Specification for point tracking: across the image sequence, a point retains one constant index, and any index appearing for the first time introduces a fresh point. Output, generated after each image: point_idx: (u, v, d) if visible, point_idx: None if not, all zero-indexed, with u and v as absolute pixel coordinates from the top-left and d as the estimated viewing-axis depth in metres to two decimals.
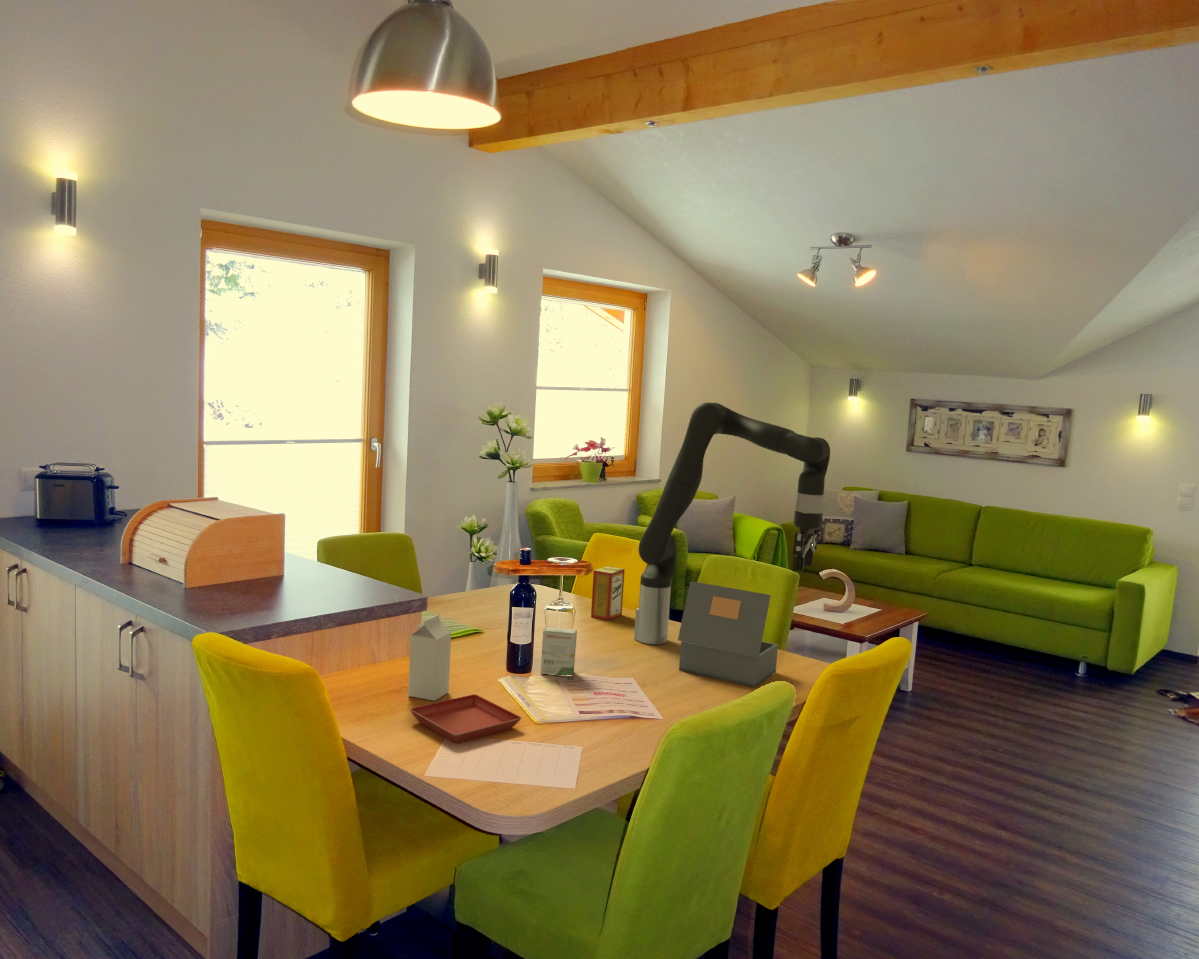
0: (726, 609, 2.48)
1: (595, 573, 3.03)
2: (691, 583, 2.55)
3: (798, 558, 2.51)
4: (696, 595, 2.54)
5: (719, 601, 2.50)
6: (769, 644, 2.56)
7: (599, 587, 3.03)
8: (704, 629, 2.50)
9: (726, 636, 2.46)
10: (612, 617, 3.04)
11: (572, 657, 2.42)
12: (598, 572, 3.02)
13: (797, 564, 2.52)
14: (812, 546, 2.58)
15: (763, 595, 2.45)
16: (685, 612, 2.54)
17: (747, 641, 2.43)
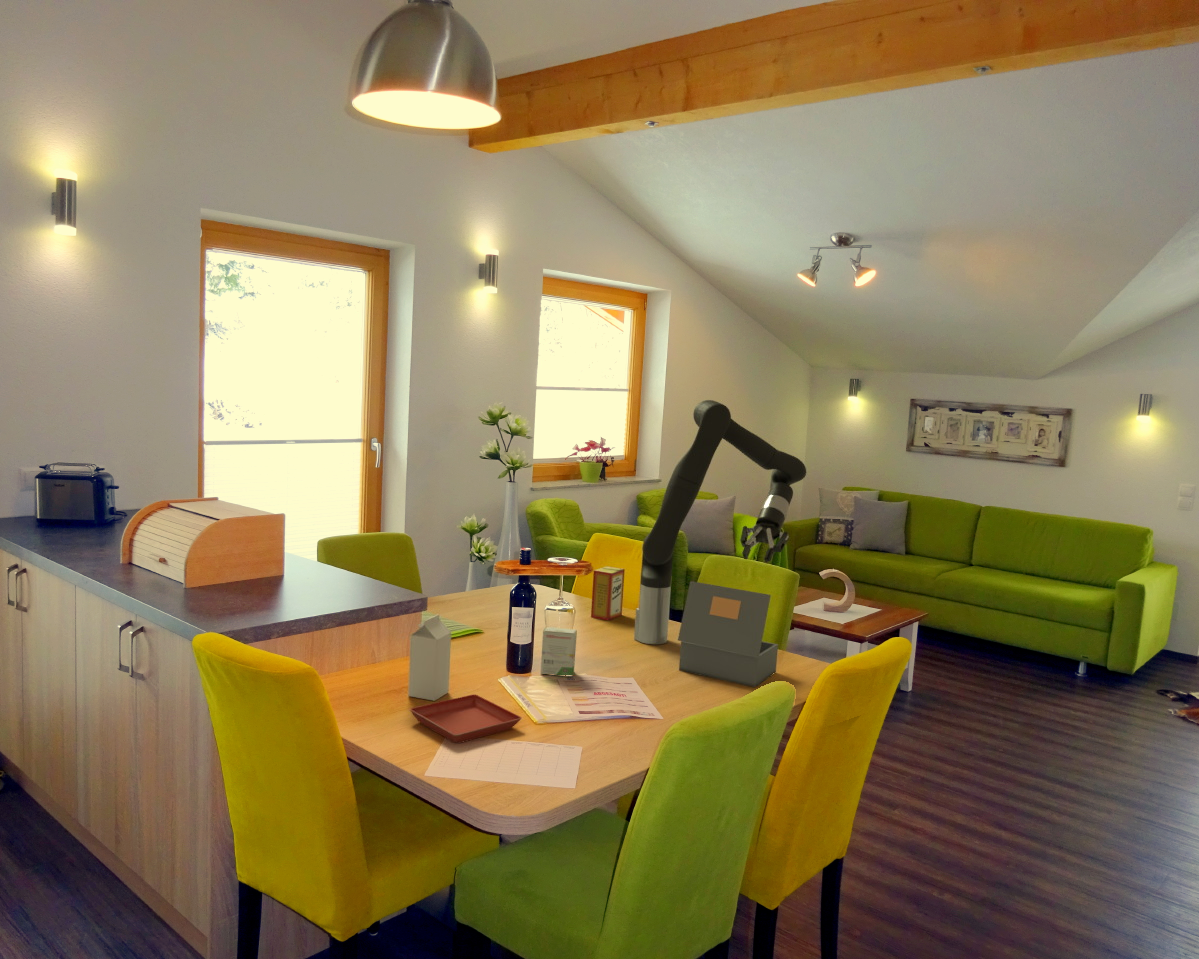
0: (726, 609, 2.48)
1: (595, 573, 3.03)
2: (691, 583, 2.55)
3: (772, 551, 2.65)
4: (696, 595, 2.54)
5: (719, 601, 2.50)
6: (769, 644, 2.56)
7: (599, 587, 3.03)
8: (704, 629, 2.50)
9: (726, 636, 2.46)
10: (612, 617, 3.04)
11: (572, 657, 2.42)
12: (598, 572, 3.02)
13: (771, 556, 2.64)
14: (755, 543, 2.71)
15: (763, 595, 2.45)
16: (685, 612, 2.54)
17: (747, 641, 2.43)
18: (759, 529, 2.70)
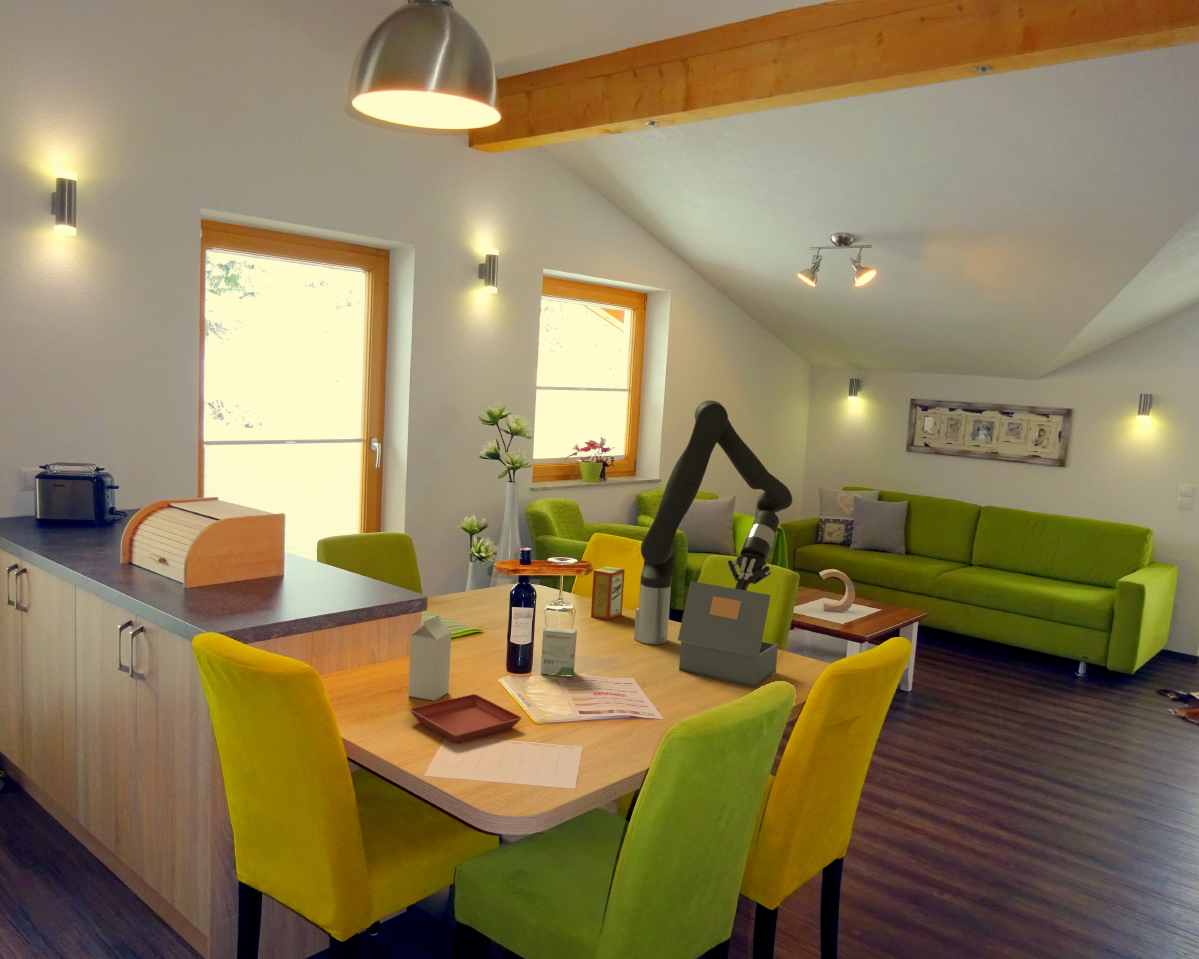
0: (726, 609, 2.48)
1: (595, 573, 3.03)
2: (691, 583, 2.55)
3: (747, 583, 2.58)
4: (696, 595, 2.54)
5: (719, 601, 2.50)
6: (769, 644, 2.56)
7: (599, 587, 3.03)
8: (704, 629, 2.50)
9: (726, 636, 2.46)
10: (612, 617, 3.04)
11: (572, 657, 2.42)
12: (598, 572, 3.02)
13: (745, 588, 2.57)
14: (746, 575, 2.61)
15: (763, 595, 2.45)
16: (685, 612, 2.54)
17: (747, 641, 2.43)
18: (744, 560, 2.61)
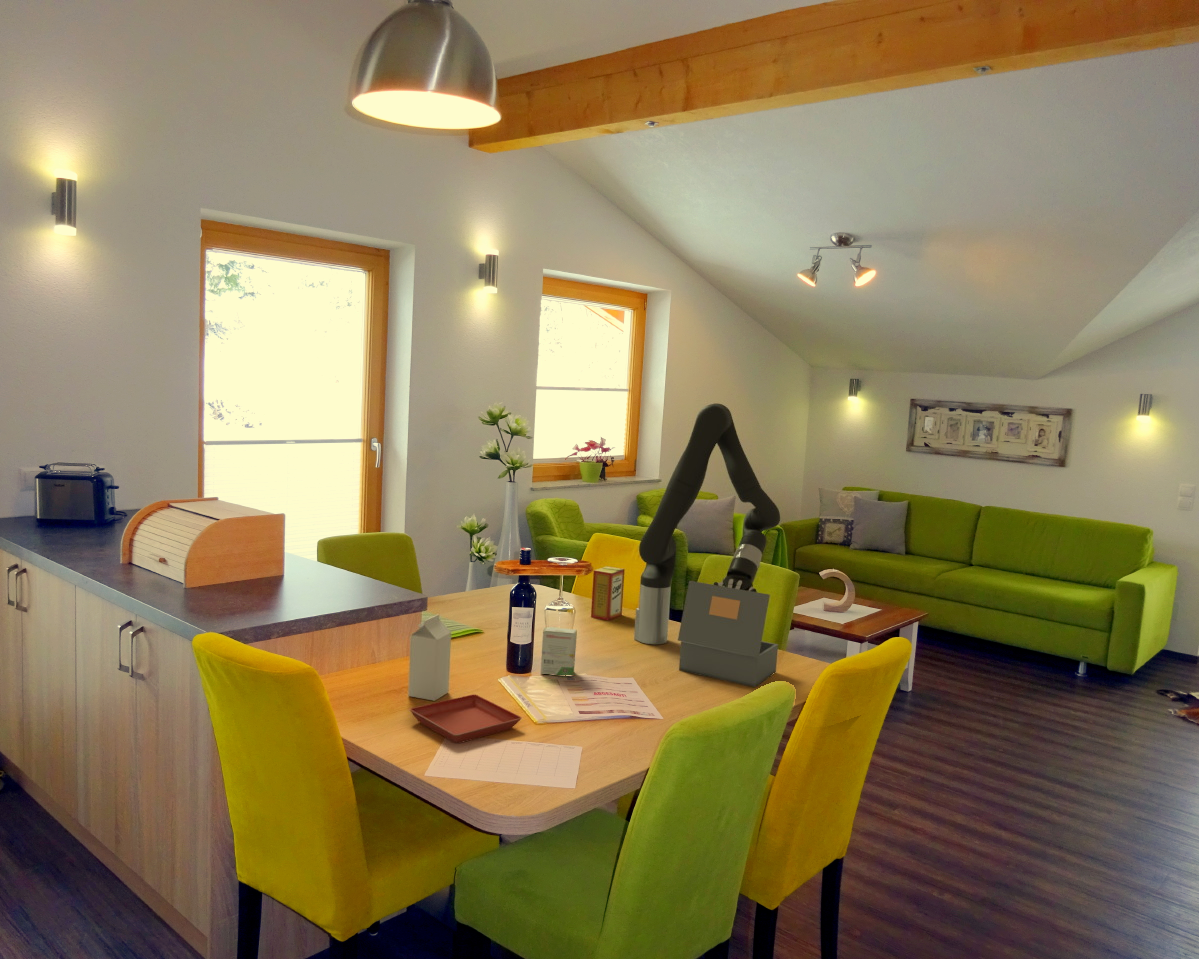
0: (725, 609, 2.48)
1: (595, 573, 3.03)
2: (690, 583, 2.55)
3: None
4: (695, 595, 2.53)
5: (719, 601, 2.49)
6: (769, 644, 2.56)
7: (599, 587, 3.03)
8: (704, 629, 2.50)
9: (726, 636, 2.46)
10: (612, 617, 3.04)
11: (572, 657, 2.42)
12: (598, 572, 3.02)
13: None
14: None
15: (762, 595, 2.44)
16: (684, 612, 2.53)
17: (747, 641, 2.43)
18: (731, 581, 2.53)
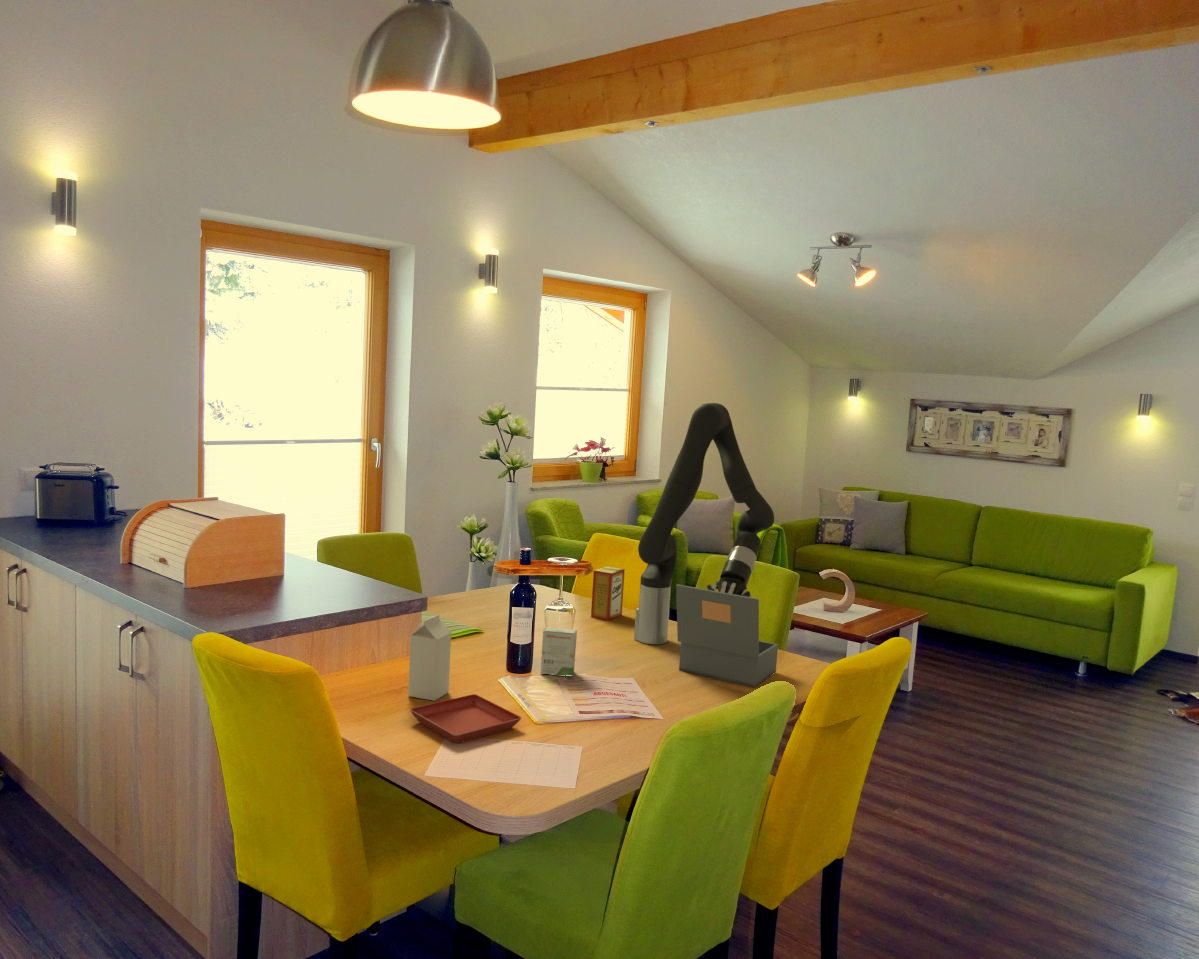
0: (717, 613, 2.43)
1: (595, 573, 3.03)
2: (677, 587, 2.48)
3: None
4: (685, 599, 2.47)
5: (709, 606, 2.44)
6: (769, 644, 2.56)
7: (599, 587, 3.03)
8: (700, 631, 2.48)
9: (723, 638, 2.45)
10: (612, 617, 3.04)
11: (572, 657, 2.42)
12: (598, 572, 3.02)
13: None
14: None
15: (751, 600, 2.37)
16: (678, 615, 2.50)
17: (744, 643, 2.42)
18: (724, 584, 2.49)
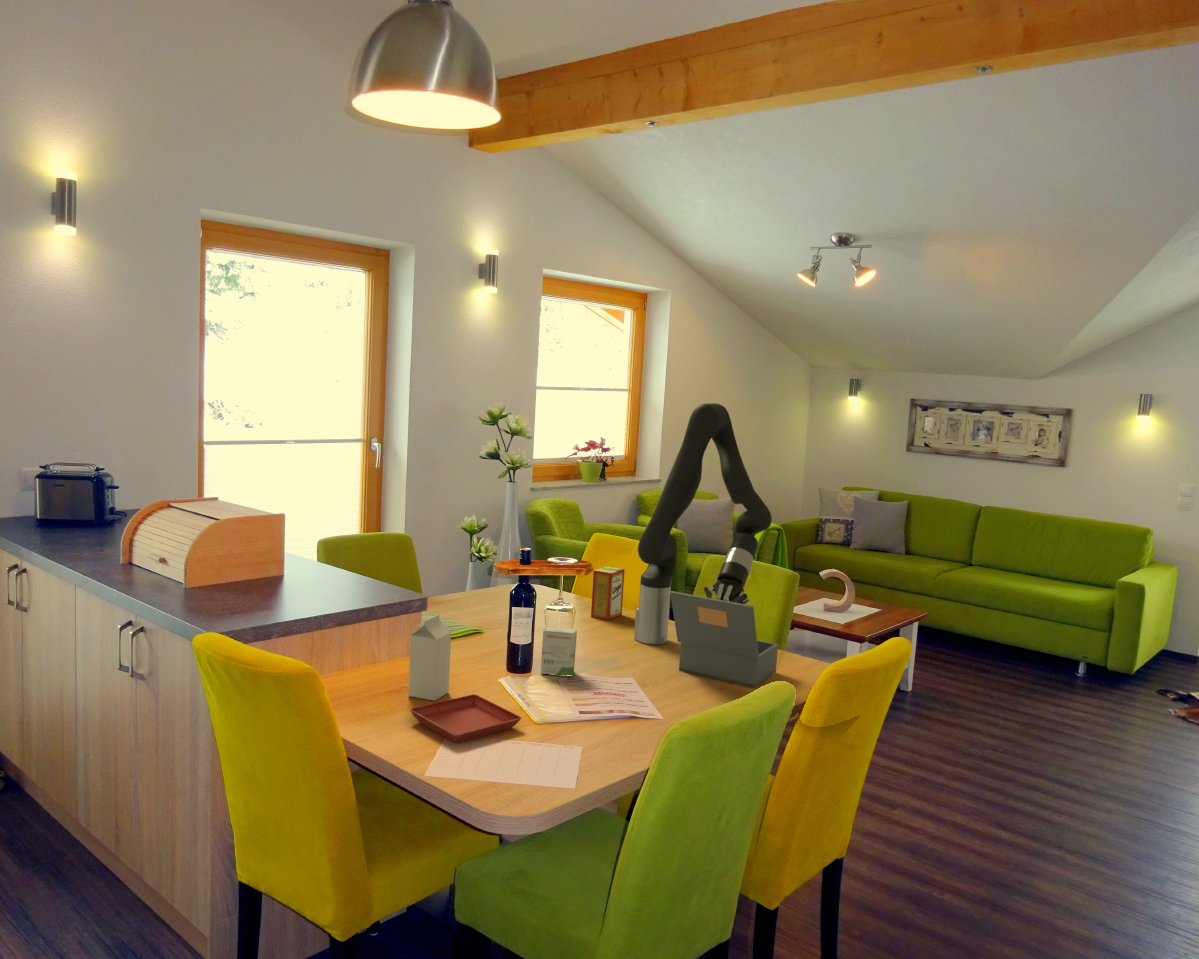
0: (713, 618, 2.42)
1: (595, 573, 3.03)
2: (672, 594, 2.45)
3: None
4: (680, 605, 2.45)
5: (705, 611, 2.42)
6: (769, 644, 2.56)
7: (599, 587, 3.03)
8: (699, 633, 2.47)
9: (722, 640, 2.44)
10: (612, 617, 3.04)
11: (572, 657, 2.42)
12: (598, 572, 3.02)
13: None
14: None
15: (746, 607, 2.34)
16: (675, 619, 2.49)
17: (743, 645, 2.41)
18: (721, 586, 2.47)
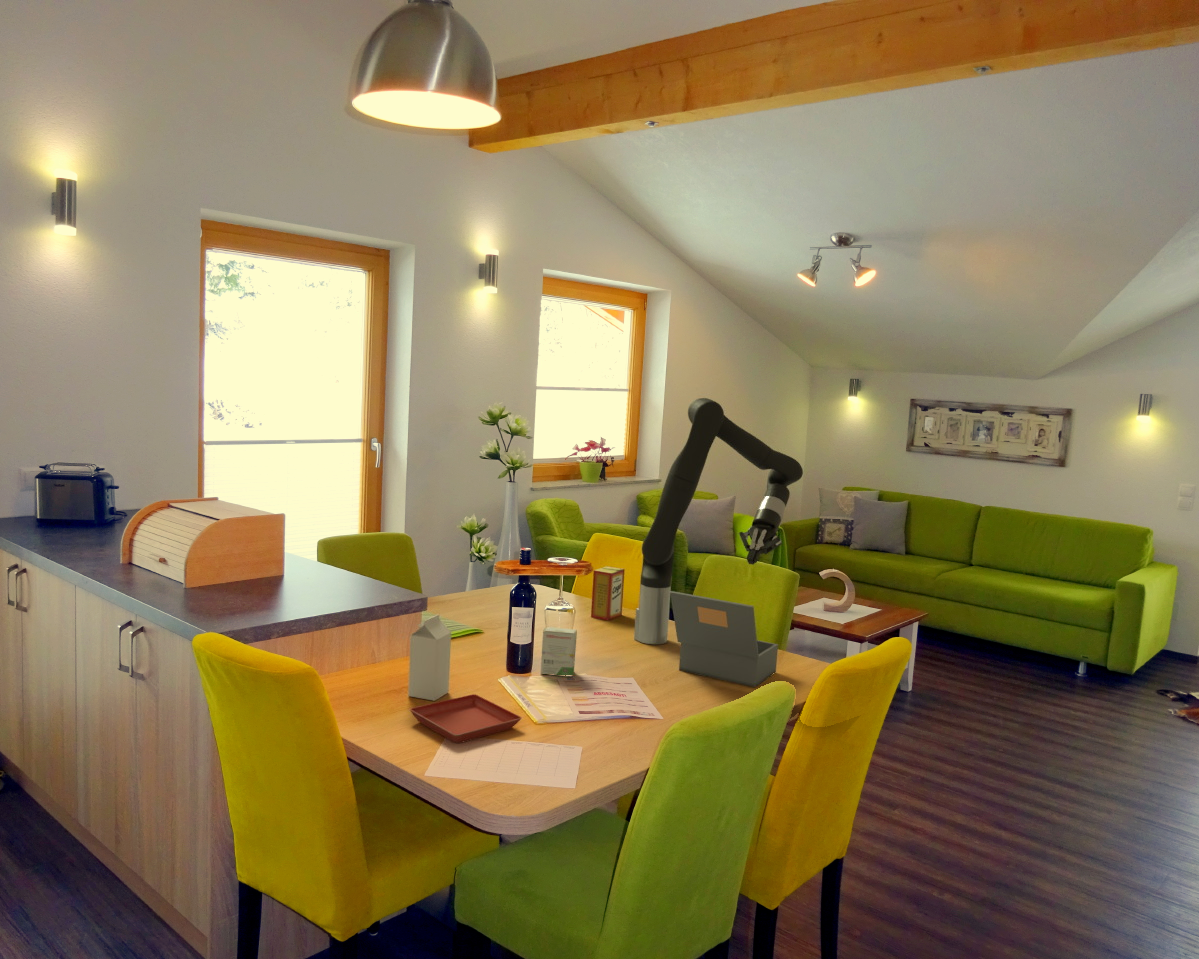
0: (713, 618, 2.42)
1: (595, 573, 3.03)
2: (672, 594, 2.45)
3: (758, 553, 2.63)
4: (680, 605, 2.45)
5: (705, 611, 2.42)
6: (769, 644, 2.56)
7: (599, 587, 3.03)
8: (699, 633, 2.47)
9: (722, 640, 2.44)
10: (612, 617, 3.04)
11: (572, 657, 2.42)
12: (598, 572, 3.02)
13: (756, 557, 2.62)
14: (757, 546, 2.67)
15: (746, 607, 2.34)
16: (675, 619, 2.49)
17: (743, 645, 2.41)
18: (756, 531, 2.66)
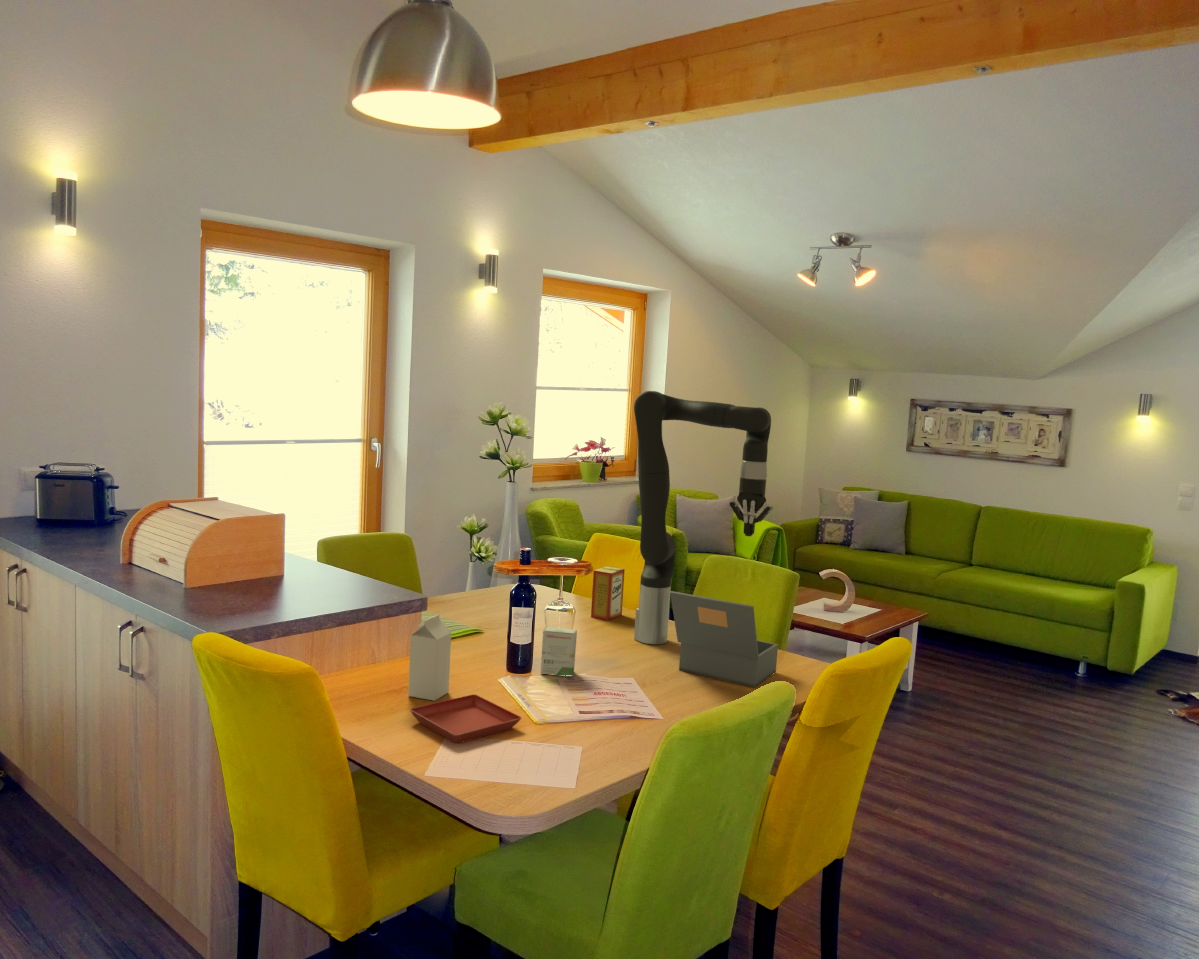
0: (713, 618, 2.42)
1: (595, 573, 3.03)
2: (672, 594, 2.45)
3: (753, 524, 2.69)
4: (680, 605, 2.45)
5: (705, 611, 2.42)
6: (769, 644, 2.56)
7: (599, 587, 3.03)
8: (699, 633, 2.47)
9: (722, 640, 2.44)
10: (612, 617, 3.04)
11: (572, 657, 2.42)
12: (598, 572, 3.02)
13: (753, 530, 2.69)
14: None
15: (746, 607, 2.34)
16: (675, 619, 2.49)
17: (743, 645, 2.41)
18: (745, 503, 2.68)
